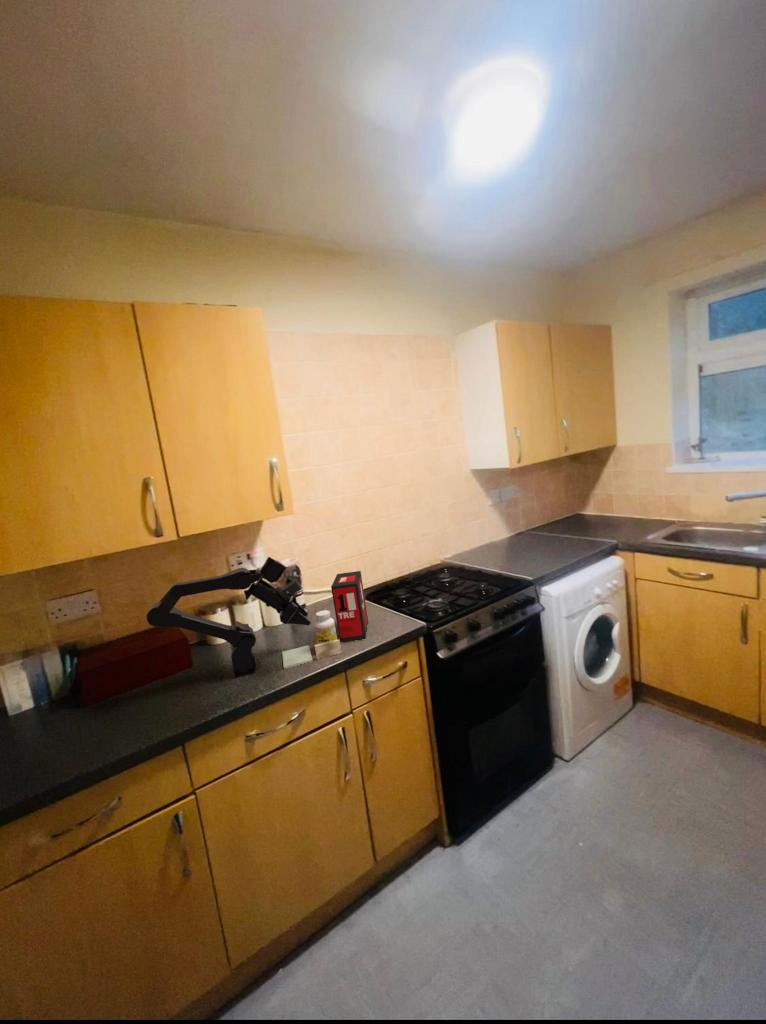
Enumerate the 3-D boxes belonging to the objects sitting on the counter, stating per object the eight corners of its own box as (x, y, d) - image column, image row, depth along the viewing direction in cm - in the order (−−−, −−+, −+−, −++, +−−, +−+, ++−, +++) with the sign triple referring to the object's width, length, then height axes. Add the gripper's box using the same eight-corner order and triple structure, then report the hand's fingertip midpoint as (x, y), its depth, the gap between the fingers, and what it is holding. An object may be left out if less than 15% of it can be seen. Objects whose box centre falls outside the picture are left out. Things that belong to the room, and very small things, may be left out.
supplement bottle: (314, 653, 146) (308, 616, 144) (326, 644, 152) (320, 608, 150) (331, 654, 143) (325, 617, 141) (342, 646, 148) (336, 609, 147)
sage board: (284, 669, 137) (283, 666, 137) (282, 653, 149) (282, 651, 149) (312, 661, 139) (312, 659, 139) (309, 647, 151) (308, 645, 151)
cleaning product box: (345, 624, 168) (337, 573, 165) (368, 621, 167) (360, 570, 165) (340, 642, 151) (331, 586, 149) (365, 639, 151) (357, 583, 149)
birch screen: (317, 659, 140) (315, 646, 140) (316, 658, 142) (314, 645, 141) (341, 653, 142) (339, 640, 142) (341, 652, 144) (339, 639, 143)
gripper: (284, 580, 132) (326, 607, 136) (282, 567, 150) (319, 591, 154) (262, 611, 131) (305, 637, 135) (262, 594, 149) (300, 618, 153)
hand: (308, 619), depth 145 cm, fingers open, 9 cm apart
